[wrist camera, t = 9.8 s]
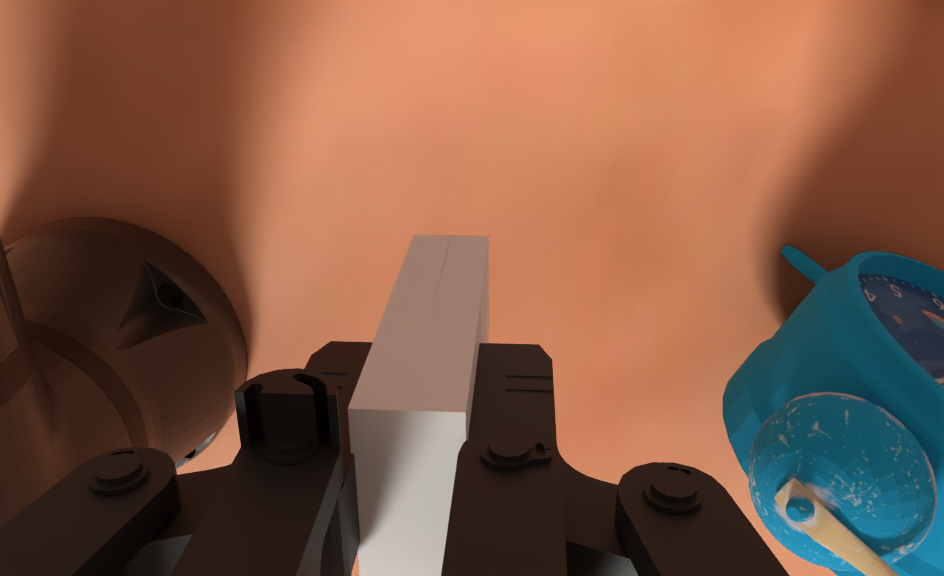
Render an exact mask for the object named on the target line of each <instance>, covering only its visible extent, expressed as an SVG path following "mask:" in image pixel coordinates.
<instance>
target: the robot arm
mask: <svg viewBox="0 0 944 576" xmlns="http://www.w3.org/2000/svg"><path fill="white" fill-rule="evenodd" d="M488 315H489V236H456V235H414V236H413V238H412V241H411V244H410V246H409V249H408V251H407V254H406V257H405V259H404V262H403V265H402V267H401V270H400V272H399V275H398V278H397V280H396V283H395V286H394V288H393V291H392V293H391V296H390V299H389V301H388V304H387V307H386V309H385V312H384V315H383V317H382V320H381V322H380V325H379V328H378V330H377V333H376V336H375V338H374V341H373V342H337V341H330V342H329V343H328V344H326V345H325V346H324V347H322V348H321V349H319V350H318V351H317V352H315V353H314V354H312V355H311V357H310V359H309V361H308V363H307V365H306V367H305V369H299V368H297V369H282V370H276V371H272V372H268V373H264V374H260V375H258V376H256V377H254V378H252V379H250V380H248V381H246V382H245V378H246V368H247V360H246V348H245V343H244V338H243V334H242V330H241V327H240V324H239V322H238V319H237V317H236V314H235V312H234V310H233V308H232V306H231V304H230V303H229V301H228V299H227V297H226V296H225V294H224V293H223V291H222V290H221V288H220V287H219V286H218V284H217V283H216V282H215V281H214V279H213V278H212V277H211V276H210V275H209V274H208V273H207V271H206V270H205V269H204V268H203V267H202V266H201V265H200V264H199V263H197V262H196V261H195V260H194V259H193V258H192V257H191V256H189V255H188V254H187V253H185V252H184V251H183V250H181V249H180V248H179V247H177V246H176V245H174V244H173V243H171V242H169V241H167V240H166V239H164V238H162V237H160V236H158V235H156V234H154V233H152V232H150V231H148V230H145V229H143V228H140V227H137V226H134V225H131V224H128V223H124V222H120V221H115V220H109V219H102V218H74V219H67V220H61V221H57V222H54V223H50V224H47V225H45V226H42V227H40V228H38V229H36V230H34V231H32V232H30V233H29V234H27V235H25V236H23V237H22V238H20V239H18V240H16V241H15V242H13V243H11V244H10V245H8V246H6V247H5V248H4V247H3V244H2V240H1V237H0V576H351V573H352V569H353V565H354V562H355V558H356V555H357V551H358V559H359V573H360V576H789V574H788V573H787V572H786V570H785V569H784V568H783V566H782V565H781V564H780V562H779V561H778V559H777V558H776V557H775V555H774V554H773V553H772V551H771V550H770V549H769V547H768V546H767V545H766V543H765V542H764V541H763V539H762V538H761V536H760V535H759V534H758V532H757V531H756V530H755V528H754V527H753V526H752V524H751V523H750V522H749V520H748V519H747V518H746V516H745V515H744V514H743V512H742V511H741V509H740V508H739V507H738V505H737V504H736V503H735V501H734V500H733V499H732V497H731V496H730V495H729V493H728V492H727V491H726V489H725V488H724V487H723V486H722V485H721V484H720V483H718V482H717V481H716V480H715V479H714V478H713V477H712V476H710V475H708V474H706V473H704V472H702V471H700V470H698V469H696V468H694V467H689V466H685V465H681V464H677V463H656V462H652V463H648V464H644V465H640V466H637V467H634V468H633V469H631V470H630V471H628V472H627V473H625V474H624V475H623V476H622V478H621V480H620V482H619V484H618V485H616V484H612V483H608V482H604V481H600V480H597V479H594V478H591V477H588V476H586V475H584V474H582V473H580V472H578V471H577V470H575V469H573V468H572V467H571V466H570V465H569V464H567V463H566V462H565V461H564V459H563V458H562V457H561V455H560V454H559V451H558V448H557V442H556V423H555V405H554V386H553V368H552V359H551V358H550V357H549V356H548V355H547V353H546V352H545V351H544V350H543V349H542V348H541V347H540V345H533V344H495V343H488ZM235 408H236V411H237V419H238V426H239V434H240V441H241V448H240V450H239V452H238V453H237V455H236V457H235V459H234V461H233V462H232V464H230V465H227V466H224V467H219V468H215V469H211V470H205V471H199V472H193V473H186V474H180V475H177V472H176V468H178V467H180V466H182V465H184V464H186V463H187V462H189V461H190V460H192V459H193V458H195V457H196V456H198V455H199V454H200V453H201V452H202V451H203V450H205V449H206V448H207V447H208V446H209V445H210V444H211V443H212V442H213V440H214V439H215V438H216V437H217V435H218V434H219V433H220V431H221V430H222V428H223V427H224V425H225V424H226V422H227V421H228V419H229V418H230V416H231V415H232V413H233V412H234V410H235Z"/></svg>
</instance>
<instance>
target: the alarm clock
mask: <svg viewBox="0 0 944 576" xmlns="http://www.w3.org/2000/svg"><path fill="white" fill-rule="evenodd" d="M781 254H782V255H783V256H784V257H785V258H786V259H787V261H788V262H789V263H790V264H791V265H792V266H793V267H794V268H795V269H797V270H798V271H799V272H800V273H802V274H803V275H804V276H805V277H807V278H808V279H809V280H810V281H812V282H813V283H814V284H816V285H815V286H814V288H813V289H812V290H811V291H810V292H809V294H808V295H807V296H806V297H805V298H804V300H803V301H802V302H801V303H800V304H799V306H798V307H797V308H796V309H795V310H794V312H793V313H792V314H791V315H790V316H789V318H788V319H787V320H786V321H785V322H784V324H783V325H782V326H781V327H780V328H779V330H778V331H777V332H776V333H775V335H774V336H773V337H772V338H771V339H769V340H767V341H765V342H763V343H761V344H760V345H759V346H758V347H757V348H756V349H755V350H754V351H753V352H752V353H751V354H750V356H749V357H748V358H747V359H746V360H745V362H744V363H743V364H742V365H741V366H740V368H739V369H738V370H737V371H736V373H735V374H734V375H733V376H732V377H731V379H730V380H729V381H728V383H727V386H726V389H725V392H724V395H723V418H724V422H725V426H726V430H727V434H728V438H729V441H730V443H731V445H732V448H733V450H734V452H735V454H736V457H737V459H738V461H739V463H740V465H741V467H742V469H743V470H744V472H745V473H746V475H747V477H748V484H749V489H750V494H751V499H752V501H753V504H754V506H755V509H756V511H757V513H758V515H759V517H760V518H761V520H762V522H763V523H764V525H765V526H766V528H767V529H768V530H769V531H770V532H771V534H772V535H773V536H774V537H775V538H776V539H777V540H778V541H779V542H780V543H781V544H782V545H783V546H785V547H786V548H787V549H788V550H790V551H791V552H793V553H794V554H796V555H797V556H799V557H800V558H803V559H805V560H807V561H809V562H811V563H813V564H816V565H820V566H823V567H827V568H829V569H830V570H832V571H833V572H834V573H835V574H836V575H838V576H944V271H942V270H940V269H937V268H935V267H933V266H930V265H928V264H926V263H924V262H921V261H918V260H915V259H912V258H909V257H906V256H903V255H898V254H893V253H888V252H883V251H866V252H863V253H860V254H857V255H854V256H853V257H852V258H851V259H850V260H849V261H848V262H847V263H846V264H845V265H844V266H843V267H840V268H837V269H834V270H831V271H829V272H828V271H827V270H825V269H824V268H823V267H821V266H820V265H819V264H817V263H816V262H815V261H814V260H812V259H811V258H810V257H808V256H807V255H806V254H804V253H802V252H801V251H799V250H797V249H795V248H793V247H792V246H790V245H787V246H785V247H784V248H783V249H782V251H781Z"/></svg>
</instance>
